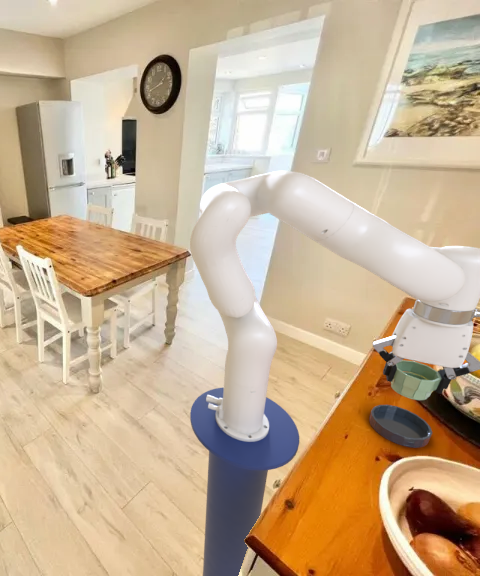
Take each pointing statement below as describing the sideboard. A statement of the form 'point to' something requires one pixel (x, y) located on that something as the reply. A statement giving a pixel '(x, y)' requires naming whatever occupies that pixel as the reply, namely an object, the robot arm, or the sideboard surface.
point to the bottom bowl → (400, 426)
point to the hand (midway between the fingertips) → (411, 383)
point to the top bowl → (415, 380)
